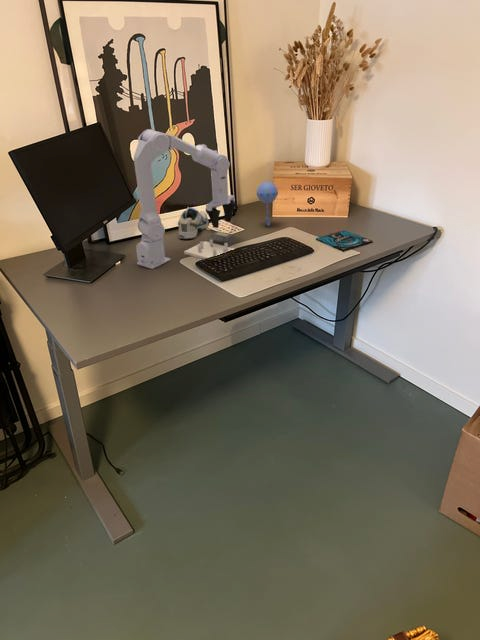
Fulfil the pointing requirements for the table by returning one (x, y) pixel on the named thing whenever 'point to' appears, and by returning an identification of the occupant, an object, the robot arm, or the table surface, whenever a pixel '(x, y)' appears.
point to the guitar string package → (344, 240)
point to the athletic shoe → (191, 223)
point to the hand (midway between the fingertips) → (221, 224)
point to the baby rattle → (267, 195)
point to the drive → (222, 238)
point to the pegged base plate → (207, 249)
